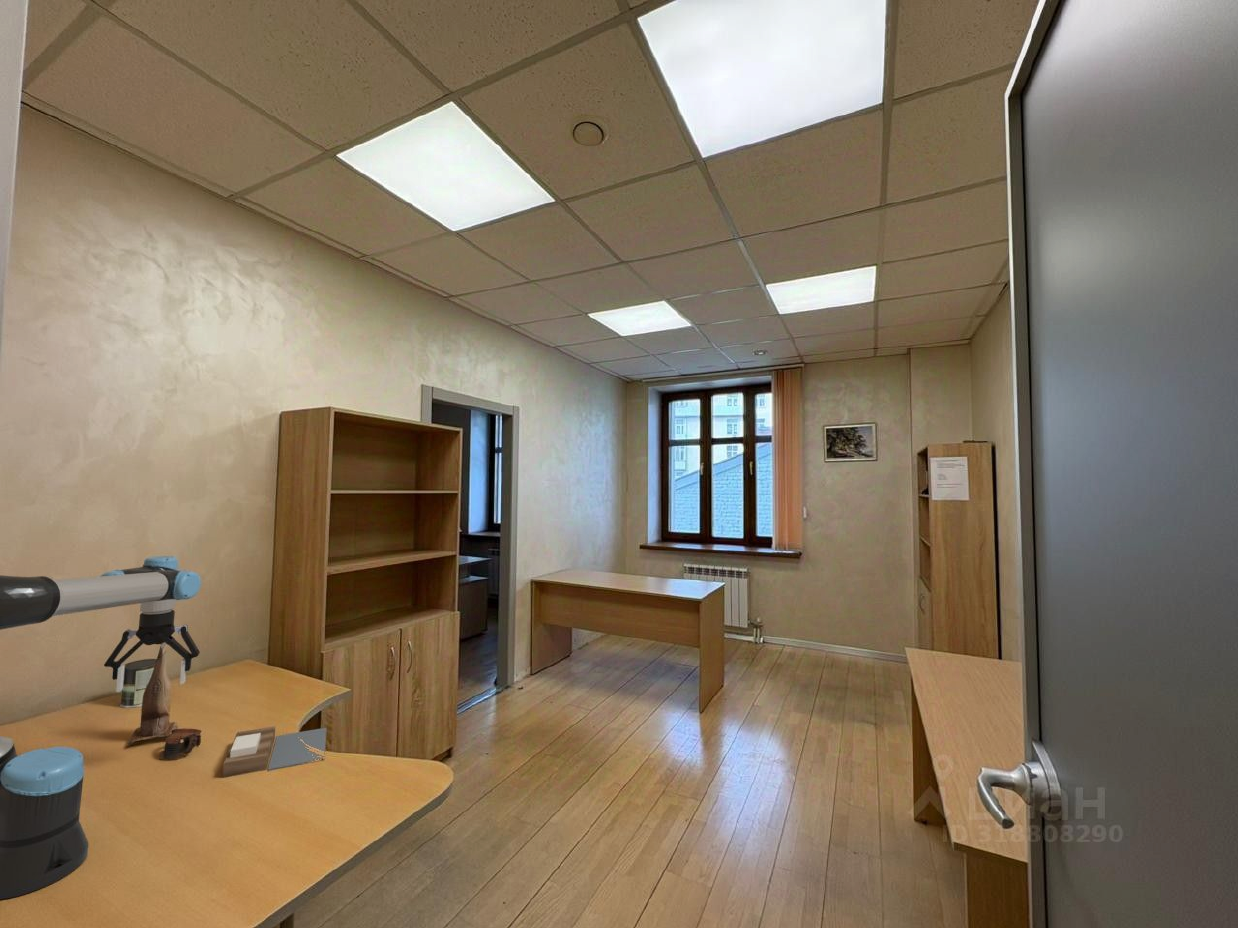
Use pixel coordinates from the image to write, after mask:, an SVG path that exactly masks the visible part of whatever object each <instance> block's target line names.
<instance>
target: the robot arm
mask: <svg viewBox="0 0 1238 928" xmlns="http://www.w3.org/2000/svg"><path fill="white" fill-rule="evenodd" d="M201 583H202V579H201V577H200V575H199V574H198V573H197V572H195V571H191V570H189V571H188V570H179V560H178V558H177V557H175V556H150V557H147V558H146V559H144V561H143V564H142V566H140V567H133V568H125V569H115V570H113V571H108V572H105V573H103V574H101V575H100V576H90V577H79V578H64V579H63V578H62V579H53V578H52V577H49V576H43V575H42V576H38V575H37V576H15V575H14V576H11V575H1V574H0V631H1V630H5V629H10V628H11V629H13V628H18V627H23V626H28V625H34V624H41V623H44V622H46V621H49V620H50V619H52V618H53V617H54V616H62V615H69V614H74V613H82V612H89V611H95V610H96V611H97V610H102V609H103V610H104V609H109V608H117V607H124V606H131V605H137V604H140V606H139V607H140V609H139V611H140V614H139V618H138V619H139V620H138V621H139V622H138V629H137V630H131V629H126V630H125V631H124V632H123V633H122V636H121V640H120V641H119V643H118V644H117V645H116V647H115V649H114V650H112V653H111V654H110V656H109V657H108V658H107V660H106V661H105V663H104V664H103V666H104V667H106V668H112V676H111V677H112V680H114V681H116V689H115V692H116V693H121V691H122V689H123V680H124V668H125V664H123V663H124V662H125V661H126V660H128V658H129V657H130V656H132V654H134V653H135V652H136V651H137V650H138V649H139V648H141V647H142V645H143V644H144V645H146V646H152V645H161V644H162V643H164V642H165V643H166V644H167V646H169V647H170V648H172V650H174V651H175V652H176V653H177V654H178V655H180V656H181V657H182V658H183V659H182V660H181V663H180V664H181V665H180V676H179V677H180V679H179V684H180V685H183V684H185V682H186V674H187V673H186V672H188V671H190V669H191V668H192V659H193V658H197V657H198V656H199V655H200V649H199V648H198V646H197V645H196V643H195V642H194V640H193V638H192V637H191V635H190V632H189V627H188V625H187V624H183V625H181V626H177V627H176V626H175V612H176V611H175V610H174V609H175V608H176V602H177V601H180V600H181V601H182V600H190V599H192V598H194V597H195V596H197V594H198V593H199V591H200V589H201ZM175 632H177V634H178V635H181V638H182V641H184V643H185V644H186V647H187V648H188V649H189V651H188V650H187V649H186V648H185V647H184V646H183V645H181V643H180V642H178V640H176V638H175V637H173V636H172V635H173V634H174V633H175ZM135 636H136V637H137V638H138V639H139V641H137V642H136V643H135V644H134V645H133V646H132V647H131V648H130V649H129V650H127V652H126V653H125V654H124V655H123V656H122V657H120V658H119V659H118V660H117V661H115V659H116V658H117V657H118V656H119V654H120V653H121V652H122V650H123V648H124V647H125V646H126V645H127V643H128V641H129V640H130V639H132V638H133V637H135ZM17 754H18V753H17V751H16V747H15V743H14V740H13V739H12V738H11V737H9V736H8V737H7V736H1V735H0V900H6V899H11V898H16V897H19V896H24V895H26V894H29V893H33V892H35V891H38V890H40V889H43V888H45V887H47V886H49V885H51V884H52V885H53V884H54V883H56V882H58V881H60V880H61V879H63V878H65V877H67V876H68V875H70V874H71V873H73V872H74V871H75V870H76V869H78V868H79V867H81V865H82V864H83V863H84V862H85V861H86V860H87V857H88V853H89V841H88V838H87V836H86V833H85V832H84V831H85V830H84V828H83V827H82V824H81V822H80V813H81V812H80V811H81V806H82V805H81V802H82V793H83V783H84V775H85V766H84V756H83V753H82V752H81V751H80V750H78V749H76V748H73V747H69V746H52V747H50V748H44V747H43V748H39V749H34V750H30V751H28V752H25V753H22V754H19V755H17Z"/></svg>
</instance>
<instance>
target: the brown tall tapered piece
mask: <svg viewBox="0 0 1238 928" xmlns="http://www.w3.org/2000/svg"><path fill="white" fill-rule="evenodd" d="M167 653H168V645H167V644H166V643H165V642H164V643H162V644H160V646H159V649H158V655H157V657H156V659H157V660H156V663H155V666H154V670H153V673H152V676H151V679H150V681H149V683H148V685H147V687H146V689H145V691H144V694H143V700H142V706H141V712H140V714H141V715H140V726H139V727H137V728H135V729H134V730H133V733H132V735H131V737H130V739H129V740H128V742H127V744H126V746H125V750H127V749H128V748H129V747H130V746H131V745H132V744H134V743H135V742H136V741H137V742H138V741H142V740H147V739H148V740H149V739H154V738H160V737H161V738H162V737H167V736H169V735H170V734H171V733H172V732H171V731H172V730H173V729H179V728H178V727H179V725H178V724H179V723H178V722H176V721H171V722H170V714H171V702H172V697H171V696H172V684H171V681H170V679H169V676H167Z"/></svg>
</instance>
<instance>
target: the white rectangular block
mask: <svg viewBox="0 0 1238 928" xmlns="http://www.w3.org/2000/svg"><path fill="white" fill-rule="evenodd" d="M260 738H261V733H257V734H251V735H245V736H239V737H236V739H235V738H234V739H235V742H234V744H233V746H232V745H231V746H232V749H231V752H230V758H233V757H238V756H244V755H250V754H255V753H256V751H257V748H258V745H259V742H260Z"/></svg>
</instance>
